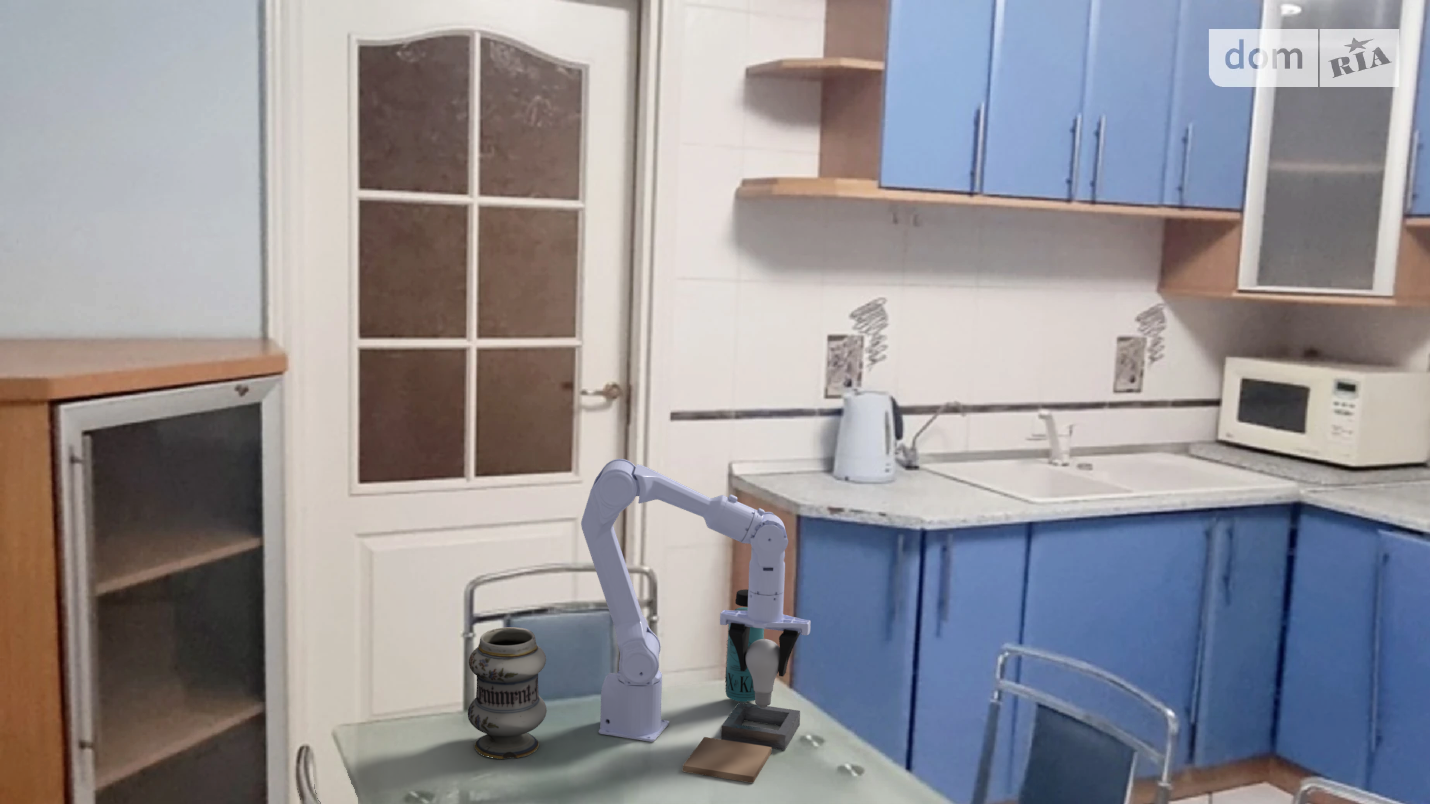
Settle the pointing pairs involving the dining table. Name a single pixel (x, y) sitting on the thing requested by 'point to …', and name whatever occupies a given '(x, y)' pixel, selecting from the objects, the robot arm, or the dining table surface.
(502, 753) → the apothecary jar
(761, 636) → the beverage bottle
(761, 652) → the lightbulb
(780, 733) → the holder frame
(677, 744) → the dining table surface
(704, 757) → the walnut pad
